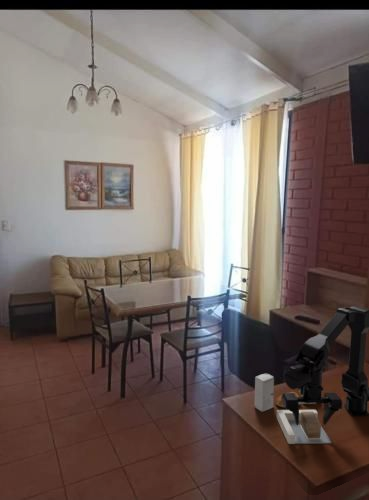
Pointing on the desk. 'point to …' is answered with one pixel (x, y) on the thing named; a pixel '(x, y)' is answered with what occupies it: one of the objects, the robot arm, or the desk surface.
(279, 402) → the pastry
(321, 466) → the desk surface
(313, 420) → the walnut block
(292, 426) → the corner arena
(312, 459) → the desk surface
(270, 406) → the skincare box
